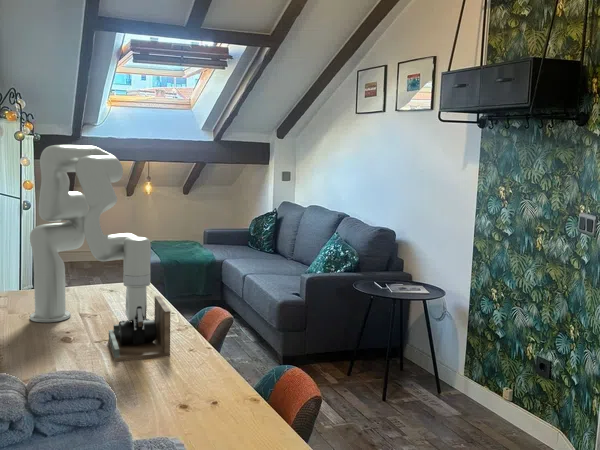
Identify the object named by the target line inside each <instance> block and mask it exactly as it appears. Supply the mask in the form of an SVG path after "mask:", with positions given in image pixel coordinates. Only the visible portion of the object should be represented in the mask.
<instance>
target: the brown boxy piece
mask: <svg viewBox="0 0 600 450" xmlns="http://www.w3.org/2000/svg"><path fill="white" fill-rule="evenodd" d="M153 315H154V319H153V320H154V321H155V323H156V331H157V334H156V339H155V340H154V341H153V342H150V343H141V344H132V345H121V344H120V342H119V339H120V337H119V334H118V333H119V331H120V328H119V326H118V325H119V323H117V324H113V329H109V330H108V343H109V347H110V349H111V354H112V356H113V360H114V362H123V361H124V362H125V361H132V360H140V359H141V360H142V359H143V360H144V359H151V358H152V359H153V358H163V357H164V358H165V357H170V356H171V310H170V308H169V307H168V306H167V305H166V303H165V301H164V300H163V298H162V297H161V296H160V295H154V314H153Z"/></svg>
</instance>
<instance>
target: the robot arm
mask: <svg viewBox="0 0 600 450" xmlns="http://www.w3.org/2000/svg"><path fill="white" fill-rule="evenodd" d="M39 165H40V166H39V168H40V173H41V174H40V175H41V183H40V190H39V199H38V215H39V217H40V218H41V220H43V221H44V222H45V221H46V222H51V223H44V224H39V225H37V226H35V227H34V228H33V229H32V230H31V232H30V234H29V240H30V241H29V242H30V246H31V247H30V248H31V253H32V259H33V278H34V279H33V283H34V286H33V287H34V289H33V290H34V292H33V293H34V311H33V312H32V313H31V314H30V315H29V319H30V320H31V321H32V322H35V323H56V322H61V321H65V320H68V319H69V318H70V317H71V312H70V311H69V310H67V307H66V266H65V262H64V260H63V259H62V257H61V256H60V254H59V253H60V252H65V251H73V250H77V249H79V248H81V247H82V246H83V245H84V243H85V241H86V243H87V245H88V248H89V251H90V252H91V253H90V254H92V256H93V257H94V259H96V260H97V261H99V262H109V261H116V260H123V283H122V285H123V286H124V287H126V289H125V290H126V291H125V311H124V312H125V316H126V318H127V320H129V321H130V322H134V330H133V344H139V343H144V342H145V329H144V320H145V319H147V305H148V304H147V300H148V299H147V287H149V286H151V253H152V252H151V248H152V247H151V240H150V239H149V238H148V237H144V236H138V235H136V234H134V233H131V232H124V233H123V232H122V233H113V234H104V232H103V230H102V226H101V222H100V220H101V219H100V218H101V215H102V214H103V213H105V212H107V211H109V210H110V209H112V208H113V207H114V206H115V205H116V204H117V202H118V196H117V193H116V192H115V189H114V187H113V185H112V183H118V182H119V181H120V180H121V179H122V177H123V174H124V169H123V165H122V163H121V161H120V159H118V158H117V157H116V156H115V155H113V154H112V153H110V152H108V151H105V150H104V149H102V148H100V147H97V146H95V145H85V144H83V145H82V144H81V145H80V144H54V145H49V146H47V147H45V148H44V149H43V150H42V151H41V155H40V157H39ZM68 173H75V175H76V177H77V178H78V182H79V185H80V187H81V189H82V192H83V193H82V192H80V191H75V190H73V191H71V190H70V185H71V184H70V183H71V182H70V178H69V175H68ZM61 221H64V222H61ZM65 221H66V222H65ZM52 222H54V223H52ZM136 322H138V323H137V324H136Z"/></svg>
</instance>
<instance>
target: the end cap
mask: <svg viewBox="0 0 600 450" xmlns="http://www.w3.org/2000/svg"><path fill="white" fill-rule="evenodd" d="M137 323H138V322H136V324H137ZM118 324H119V325H118V326H119V328H120V331H119V333H118V334H119V337H120V339H119V342H120V344H121V345H132V344H133V330H134V322H132V321H129V320H128V319H127V320H120V321H119V322H118ZM144 329H145V342H144V343H150V342H153V341H154V340H155V339H156V334H157V331H156V323H155V321H154V319H149V318H146V319H145V320H144ZM139 344H141V343H139Z"/></svg>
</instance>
